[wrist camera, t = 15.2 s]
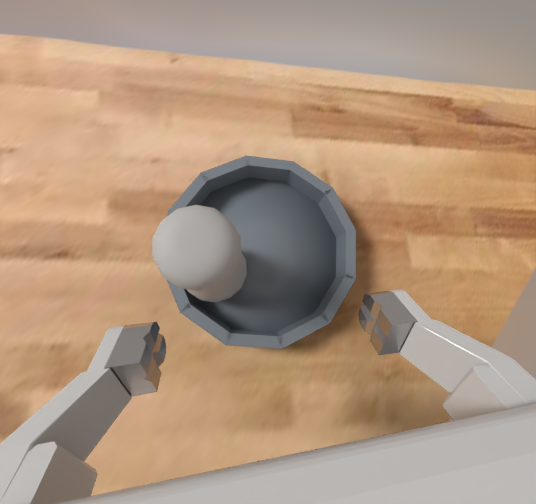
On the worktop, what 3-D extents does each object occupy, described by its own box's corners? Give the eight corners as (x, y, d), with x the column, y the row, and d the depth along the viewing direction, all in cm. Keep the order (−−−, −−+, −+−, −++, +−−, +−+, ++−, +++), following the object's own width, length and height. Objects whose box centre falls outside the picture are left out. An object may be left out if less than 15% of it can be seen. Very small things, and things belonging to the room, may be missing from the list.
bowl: (369, 234, 27) (387, 224, 23) (283, 377, 23) (289, 390, 20) (241, 147, 27) (240, 126, 24) (137, 272, 24) (118, 268, 20)
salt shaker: (194, 309, 22) (140, 325, 10) (180, 252, 23) (112, 200, 11) (253, 290, 23) (272, 284, 11) (237, 237, 24) (238, 173, 12)
